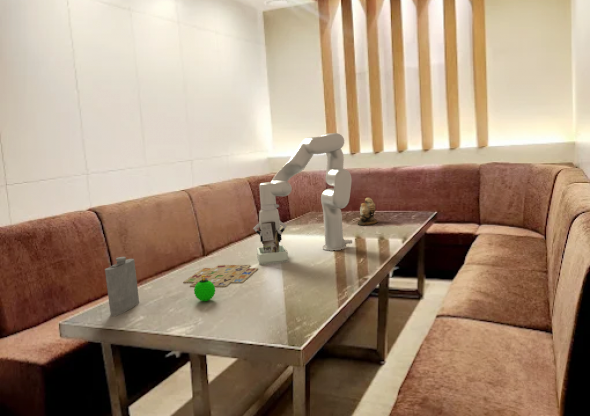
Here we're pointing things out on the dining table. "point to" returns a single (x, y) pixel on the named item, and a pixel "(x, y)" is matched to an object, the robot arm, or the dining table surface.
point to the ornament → (204, 289)
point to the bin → (272, 256)
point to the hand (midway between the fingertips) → (271, 242)
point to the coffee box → (270, 238)
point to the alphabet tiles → (222, 275)
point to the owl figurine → (367, 213)
